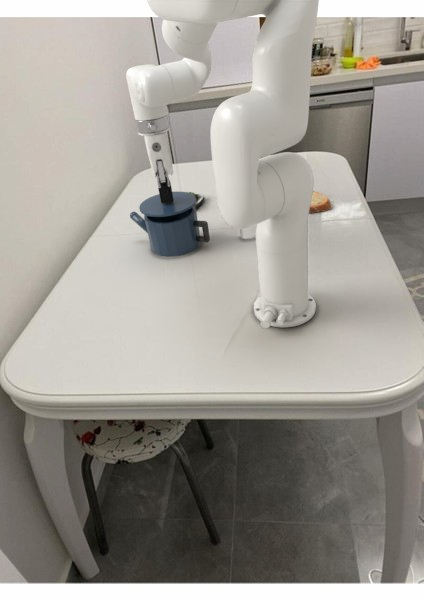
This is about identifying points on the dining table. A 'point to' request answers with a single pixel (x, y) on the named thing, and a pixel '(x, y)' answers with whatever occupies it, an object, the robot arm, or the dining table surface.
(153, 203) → the teapot lid
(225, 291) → the dining table surface
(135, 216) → the teapot spout and handle
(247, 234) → the eye dropper bottle
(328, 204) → the slice of bread
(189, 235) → the teapot
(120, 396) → the dining table surface
